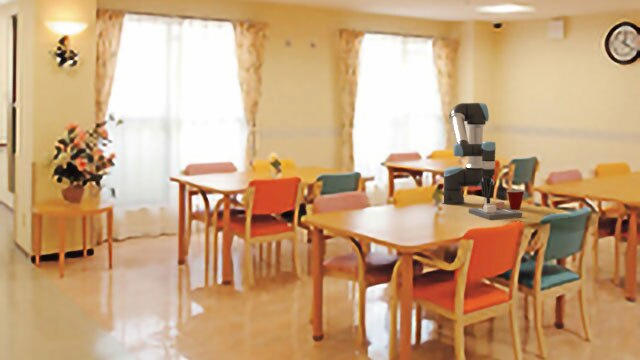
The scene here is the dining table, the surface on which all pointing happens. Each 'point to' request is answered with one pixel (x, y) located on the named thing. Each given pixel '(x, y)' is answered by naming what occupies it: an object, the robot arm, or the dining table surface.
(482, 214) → the slider panel
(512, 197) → the plastic cup
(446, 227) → the dining table surface
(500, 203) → the fader
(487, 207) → the fader
